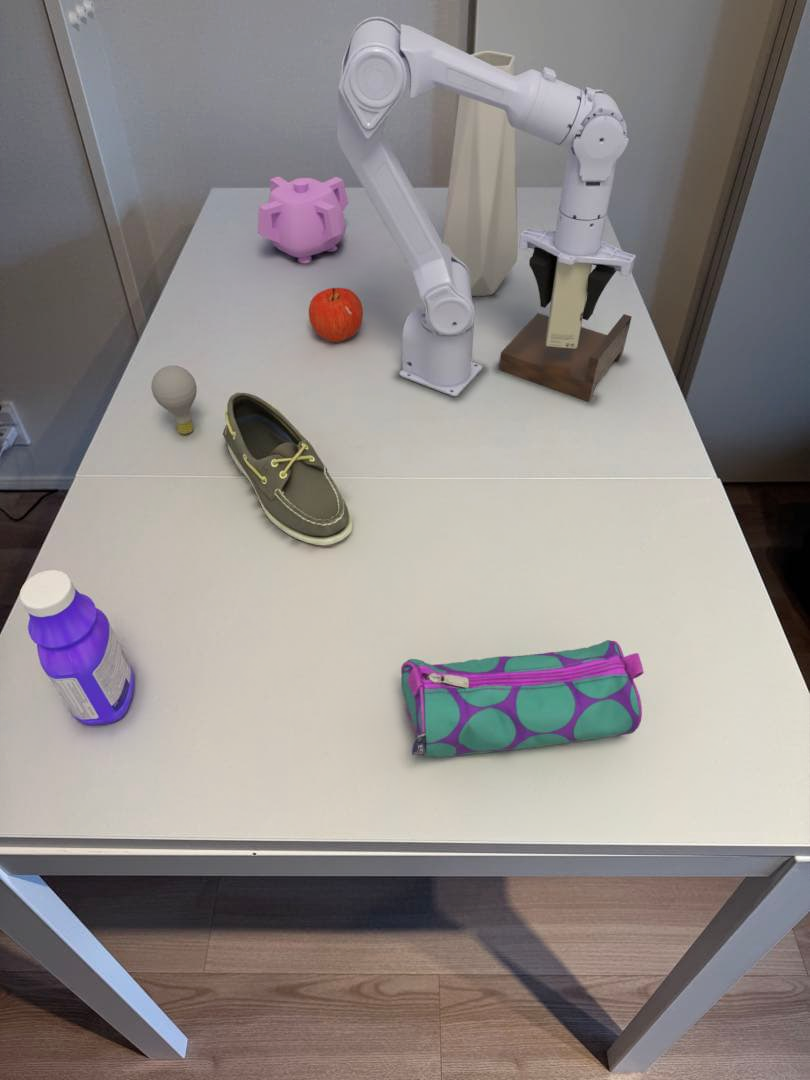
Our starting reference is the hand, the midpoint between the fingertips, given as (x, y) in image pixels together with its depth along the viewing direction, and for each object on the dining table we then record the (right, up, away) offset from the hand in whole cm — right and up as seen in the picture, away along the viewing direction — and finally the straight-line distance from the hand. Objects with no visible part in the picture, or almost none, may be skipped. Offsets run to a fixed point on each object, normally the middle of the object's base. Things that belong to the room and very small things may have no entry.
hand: (566, 309), depth 102 cm
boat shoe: (-36, -24, -7) cm, 44 cm away
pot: (-39, +20, +33) cm, 54 cm away
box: (0, -3, +3) cm, 5 cm away
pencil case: (-11, -48, -29) cm, 57 cm away
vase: (-10, +11, +24) cm, 28 cm away
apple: (-32, 0, +15) cm, 35 cm away
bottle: (-51, -46, -26) cm, 74 cm away
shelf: (+1, -5, +9) cm, 11 cm away
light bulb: (-51, -16, 0) cm, 53 cm away
